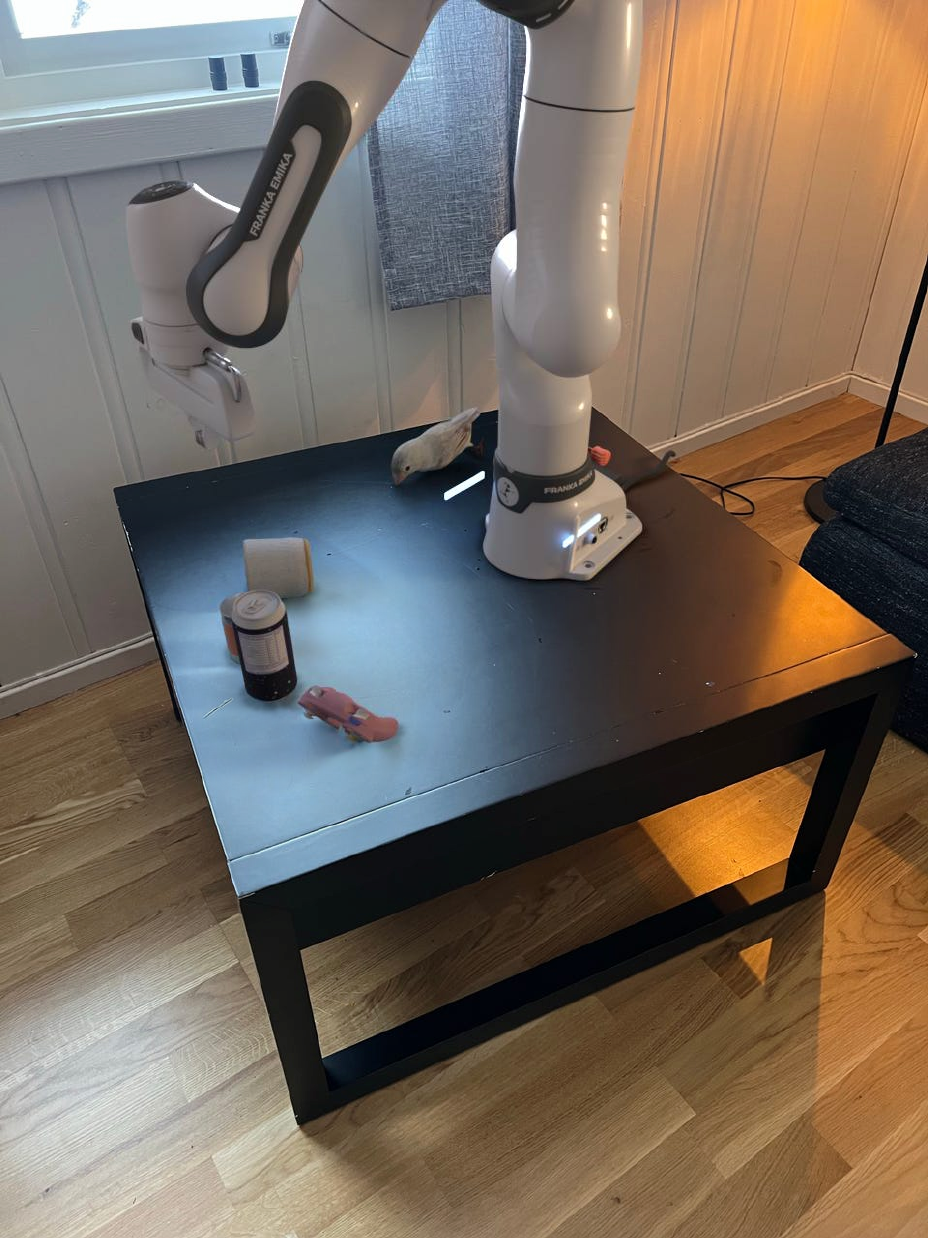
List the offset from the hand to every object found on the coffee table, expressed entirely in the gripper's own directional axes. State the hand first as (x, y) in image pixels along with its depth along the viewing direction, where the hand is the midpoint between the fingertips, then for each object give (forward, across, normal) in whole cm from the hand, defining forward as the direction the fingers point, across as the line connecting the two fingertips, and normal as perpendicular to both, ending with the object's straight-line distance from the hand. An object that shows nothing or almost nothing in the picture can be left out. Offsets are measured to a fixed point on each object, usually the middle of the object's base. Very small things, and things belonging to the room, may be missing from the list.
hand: (207, 445), depth 115 cm
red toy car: (+15, -38, +8) cm, 42 cm away
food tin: (+15, -21, +9) cm, 27 cm away
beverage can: (+15, -28, +11) cm, 33 cm away
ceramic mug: (+15, -12, 0) cm, 20 cm away
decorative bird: (+15, -3, -34) cm, 38 cm away
